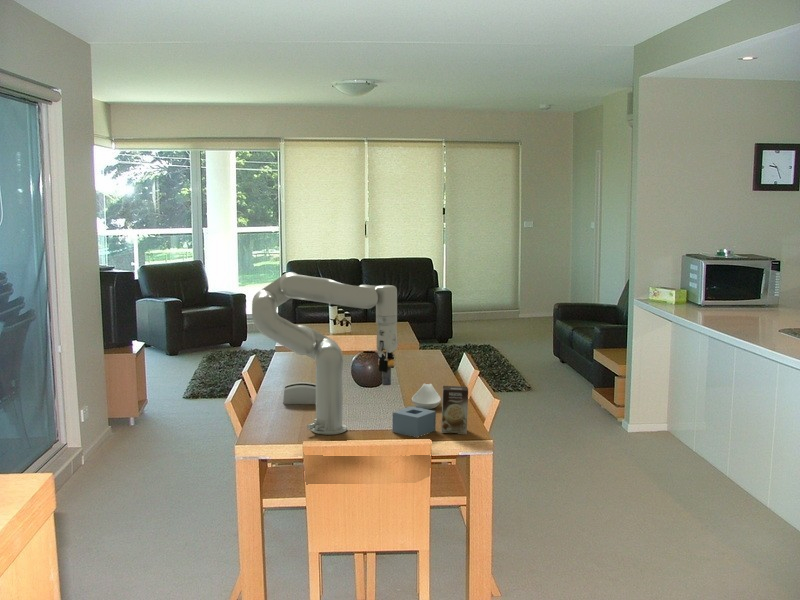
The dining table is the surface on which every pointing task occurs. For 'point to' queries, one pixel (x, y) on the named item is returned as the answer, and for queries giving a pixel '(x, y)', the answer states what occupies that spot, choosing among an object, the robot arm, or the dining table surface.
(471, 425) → the dining table surface
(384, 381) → the pin
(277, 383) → the dining table surface
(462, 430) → the coffee box
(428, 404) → the spoon rest
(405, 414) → the hitch block
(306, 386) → the grey slotted block
